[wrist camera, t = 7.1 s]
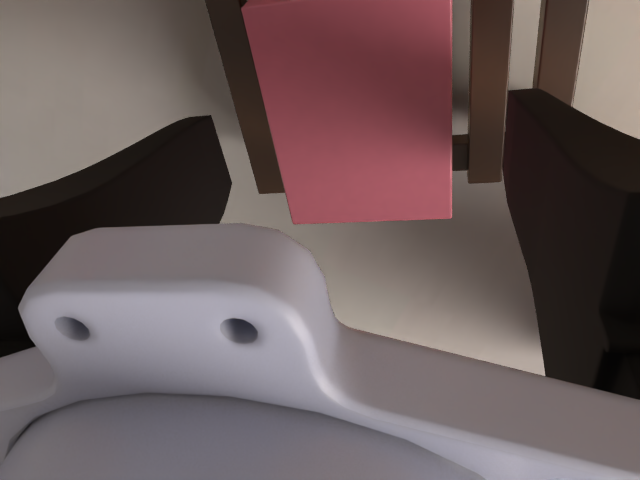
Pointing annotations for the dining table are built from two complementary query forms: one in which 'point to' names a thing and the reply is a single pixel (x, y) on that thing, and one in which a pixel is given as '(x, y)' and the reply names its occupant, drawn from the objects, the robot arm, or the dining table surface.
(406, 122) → the pink box
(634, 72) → the dining table surface
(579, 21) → the rack
